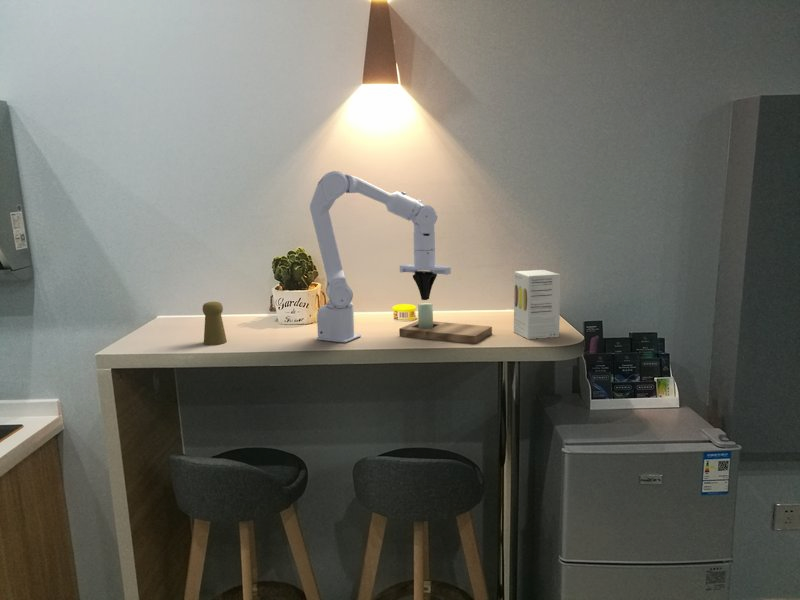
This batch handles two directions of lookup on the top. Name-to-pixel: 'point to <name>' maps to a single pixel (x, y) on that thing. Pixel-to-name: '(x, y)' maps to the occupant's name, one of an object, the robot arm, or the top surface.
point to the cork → (213, 324)
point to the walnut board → (448, 332)
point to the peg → (425, 315)
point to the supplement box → (536, 303)
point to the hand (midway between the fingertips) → (425, 299)
